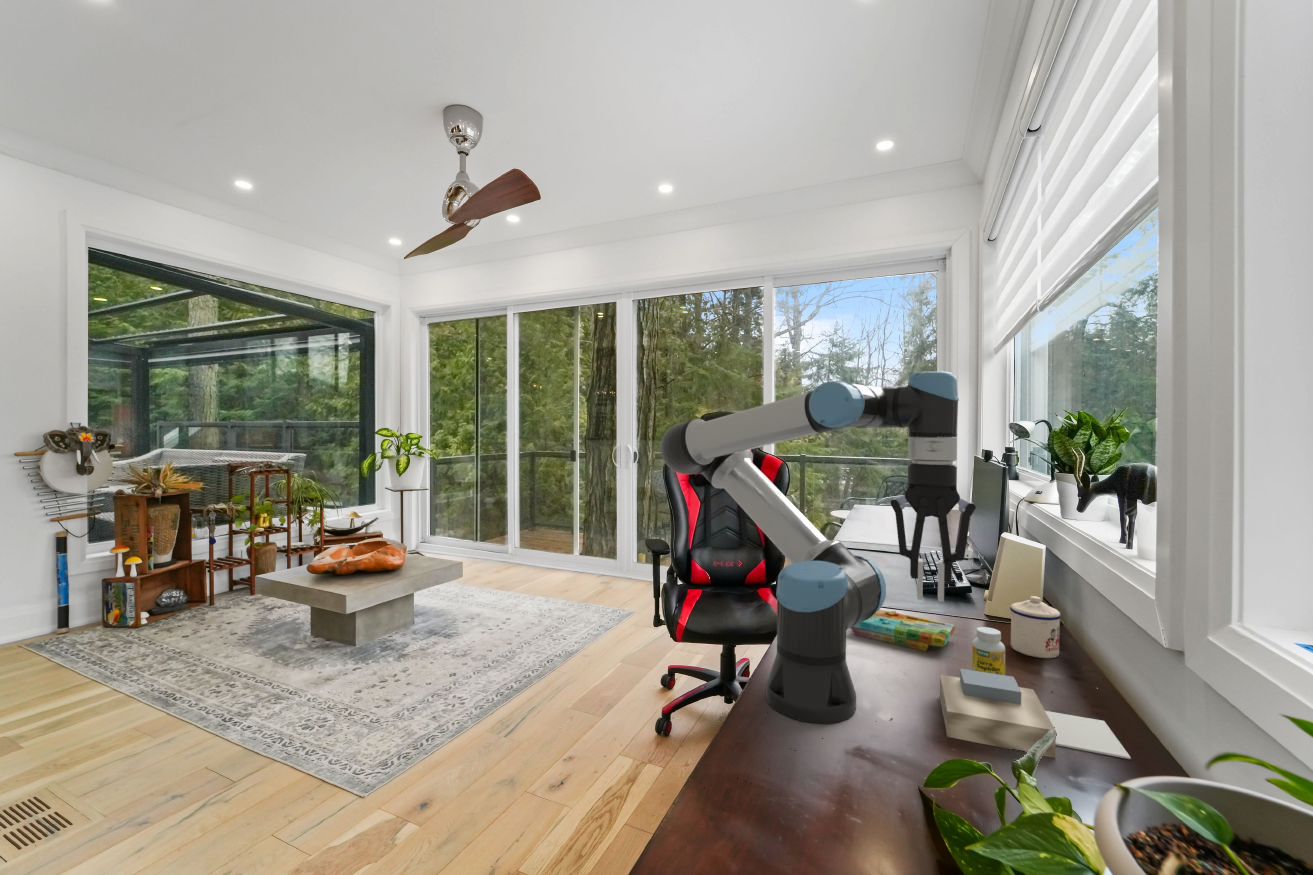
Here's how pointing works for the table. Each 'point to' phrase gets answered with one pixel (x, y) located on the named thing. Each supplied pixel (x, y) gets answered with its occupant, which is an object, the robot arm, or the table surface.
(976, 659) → the supplement bottle
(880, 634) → the puzzle game
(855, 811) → the table surface
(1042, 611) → the teacup with lid
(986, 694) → the slate tile
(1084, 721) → the white mat
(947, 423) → the robot arm
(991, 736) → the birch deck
